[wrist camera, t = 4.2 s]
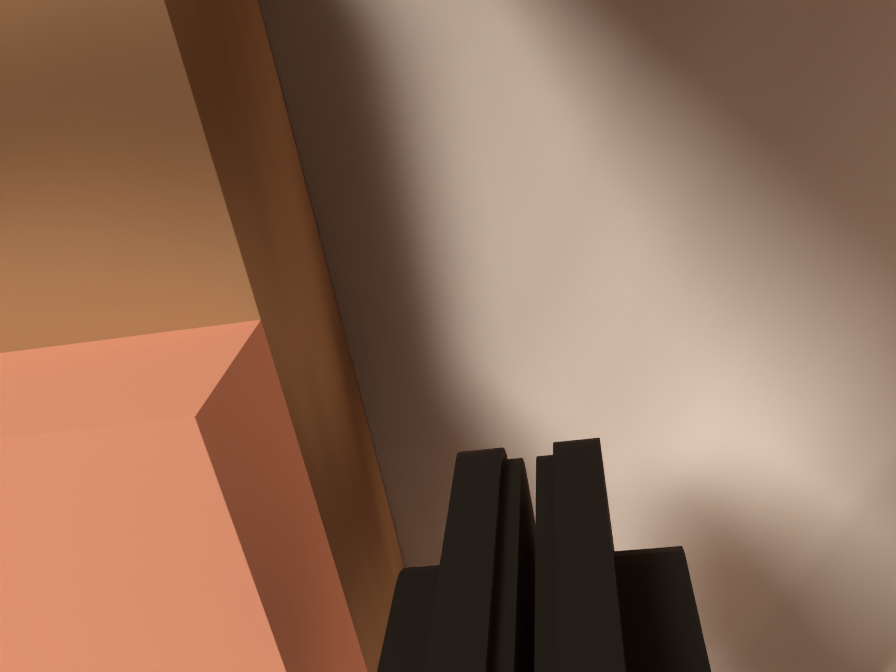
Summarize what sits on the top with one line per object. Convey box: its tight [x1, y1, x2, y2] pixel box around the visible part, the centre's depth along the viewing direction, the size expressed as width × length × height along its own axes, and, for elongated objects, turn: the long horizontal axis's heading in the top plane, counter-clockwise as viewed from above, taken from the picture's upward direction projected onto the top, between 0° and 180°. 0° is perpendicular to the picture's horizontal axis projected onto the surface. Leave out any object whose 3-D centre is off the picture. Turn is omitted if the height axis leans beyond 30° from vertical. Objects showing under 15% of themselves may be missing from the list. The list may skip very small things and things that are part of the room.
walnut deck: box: [0, 0, 405, 672], centre depth 14 cm, size 17×11×3 cm, turn 10°
